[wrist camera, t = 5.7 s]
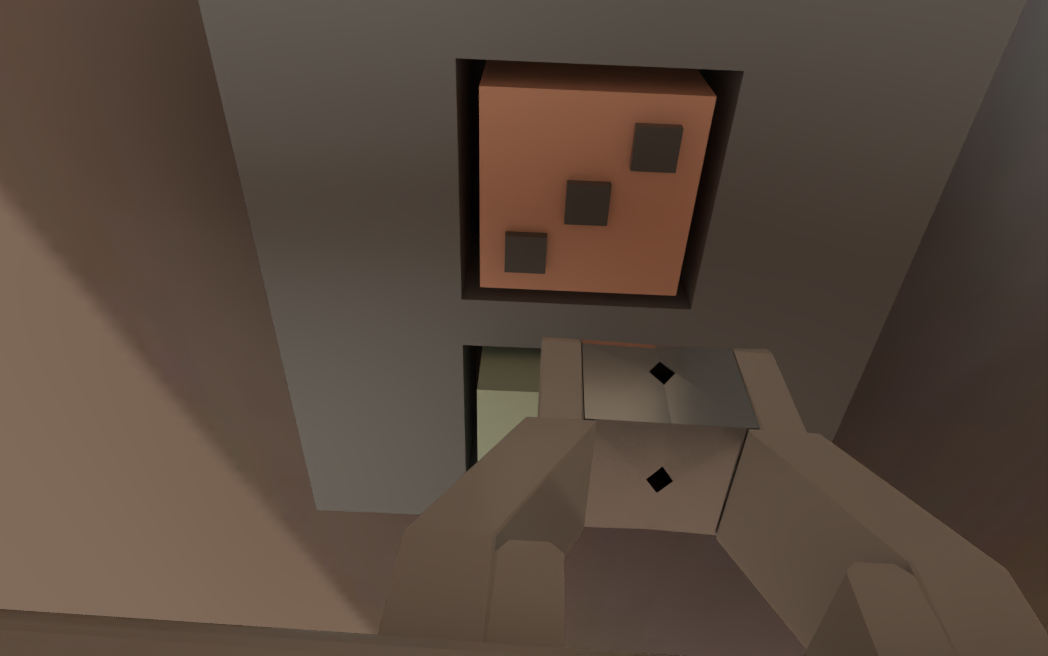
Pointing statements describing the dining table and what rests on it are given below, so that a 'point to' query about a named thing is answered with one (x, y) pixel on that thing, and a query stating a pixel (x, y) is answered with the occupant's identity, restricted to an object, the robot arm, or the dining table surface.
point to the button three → (589, 174)
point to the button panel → (529, 315)
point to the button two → (505, 392)
